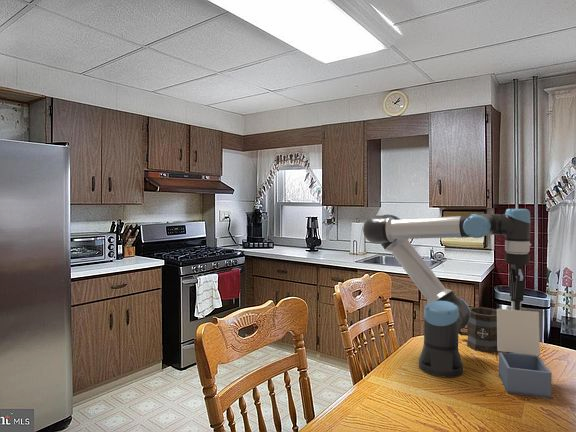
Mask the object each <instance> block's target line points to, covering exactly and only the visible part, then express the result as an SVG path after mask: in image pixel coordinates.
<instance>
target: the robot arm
mask: <svg viewBox="0 0 576 432" xmlns="http://www.w3.org/2000/svg"><path fill="white" fill-rule="evenodd" d="M531 223H532V222H531V211H530V210H529V209H527V208H506V210H505V212H504V213H501V214H500V213H499V214H498V213H496V214H495V213H471V214H470V215H455V216H454V215H453V216H452V215H451V216H437V217H436V216H435V217H422V218H421V217H420V218H417V217H416V218H405V219H403V218H402V219H401V218H400V217H398V216H396V215H394V214H382V215H372V216H370V217H369V218H367V219H366V220H365V223H364V224H363V228H362V233H363V235H364V237H365V239H366V240H367V241H368V242H370V243H371V244H377V245H379V244H380V245H381V246H382V248H383V249H384V251H386V252H390V253H391V254H392V256H393V257H394V258H395V259H396V261H397V262H398V263H399V265H400V266H401V267H402V269H403V270H404V272H405V273H406V274H407V275H408V277H409V278H410V279H411V281H412V282H413V284H415V286H416V287H417V289H418V290H419V291H420V293H421V294H422V296H424V298H425V300H426V305H425V306H424V310H423V347H422V349H421V353H420V355H419V357H418V368H419V369H420V370H421V371H423V372H424V373H427V374H429V375H431V376H434V377H441V378H457V377H459V376H462V375H463V374H464V363H463V360H462V356H461V355H460V351H459V334H458V333H459V331H461V330H462V329H463V328H465V327H466V326H467V325H468V322H469V319H470V315H471V312H470V308H471V307H469V304H468V303H467V301H465V300H464V299H462V298H460V297H458V296H457V294H456V293H454V291H453V290H452V289H448V288H445V286H444V284H443V283H442V282H441V281H440V280H439V278H438V277H437V276H436V274H435V272H433V270H432V269H431V267H430V266H429V265H428V264H427V263H426V261H425V260H424V258H423V257H422V256H421V255H420V254H419V253H418V251H417V250H416V248H415V247H414V246H413V245H412V243H411V241H409V239H410V240H411V239H414V240H415V239H416V240H417V239H446V238H448V239H450V238H452V239H453V238H474V239H480V238H484V237H485V236H489V235H491V236H492V235H494V236H504V237H505V238H504V239H505V240H504V251H505V253H504V262H505V264H508V265H510V268H509V269H508V270H507V272H508V276H509V277H508V278H509V296H510V302H511V304H510V305H511V309H510V310H522V302H524V295H525V284H526V283H525V282H526V277H527V276H526V275H525V273H526V272H525V269H524V266H528V265H530V257H531V256H530V250H531V249H530V247H531V246H532V243H531V242H530V241H531Z"/></svg>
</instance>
